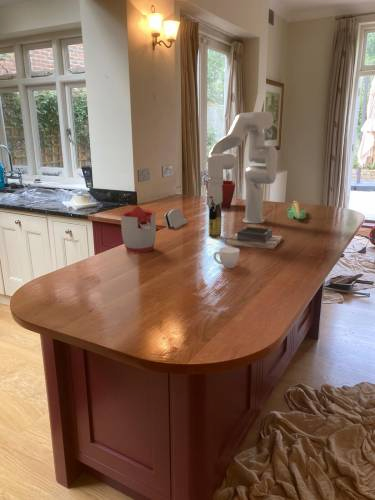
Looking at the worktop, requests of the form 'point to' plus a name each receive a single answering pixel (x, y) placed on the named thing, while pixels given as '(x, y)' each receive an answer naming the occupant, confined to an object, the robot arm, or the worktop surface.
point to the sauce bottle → (215, 223)
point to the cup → (228, 256)
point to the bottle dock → (255, 238)
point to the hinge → (174, 218)
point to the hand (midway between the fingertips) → (215, 217)
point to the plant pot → (226, 193)
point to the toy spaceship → (296, 211)
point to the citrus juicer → (138, 229)
